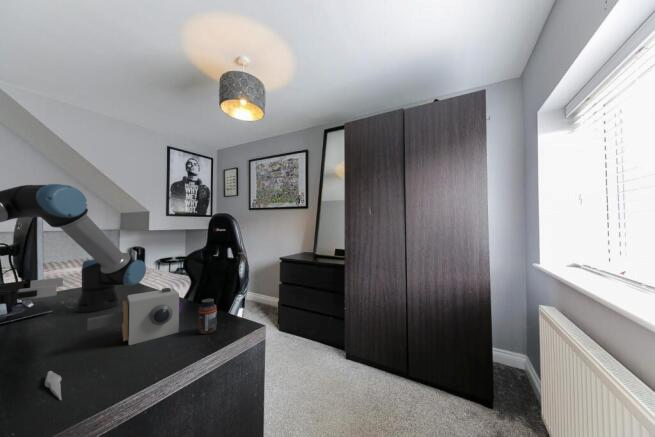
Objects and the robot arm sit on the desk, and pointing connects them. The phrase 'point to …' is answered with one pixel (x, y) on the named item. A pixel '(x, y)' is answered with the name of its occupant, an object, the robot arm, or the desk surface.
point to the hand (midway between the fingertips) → (60, 285)
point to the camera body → (152, 315)
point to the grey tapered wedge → (54, 384)
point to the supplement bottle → (207, 317)
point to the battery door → (111, 321)
